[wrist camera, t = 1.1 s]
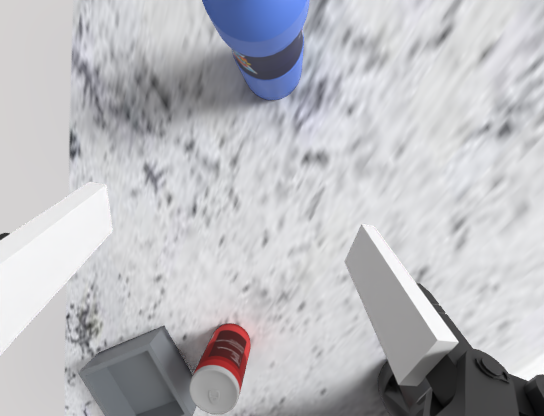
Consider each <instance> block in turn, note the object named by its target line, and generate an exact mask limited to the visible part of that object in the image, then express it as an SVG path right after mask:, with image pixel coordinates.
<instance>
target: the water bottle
mask: <svg viewBox="0 0 544 416" xmlns="http://www.w3.org/2000/svg"><path fill="white" fill-rule="evenodd" d="M202 2H203V4H204V6H205V9H206V11H207V13H208V15H209V17H210V19H211V20H212V22H213V24H214V26H215V28H216V30H217V31H218V33H219V34H220V36H221V38H222V39H223V40H224V41H225V43H226V44H227V45H228V46H229V47H231V48H232V52H233V56H234V58H235V61H236V63H237V65H238V67H239V69H240V71H241V73H242V75H243V76H244V78H245V80H246V82H247V84H248V86H249V87H250V89H251V90H252V91H253V92H254V93H255V94H256V95H257V96H259V97H261V98H263V99H266V100H278V99H282V98H284V97H286V96H287V95H289V94H290V93H291V92H292V91H293V90H294V89H295V88H296V86H297V84H298V82H299V80H300V77H301V71H302V60H303V46H304V34H303V29H302V28H303V25H304V23H305V20H306V17H307V12H308V7H309V0H202Z"/></svg>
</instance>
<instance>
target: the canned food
mask: <svg viewBox="0 0 544 416" xmlns="http://www.w3.org/2000/svg"><path fill="white" fill-rule="evenodd" d="M249 352H250V338H249V336H248V334H247V332H246V331H245V330H244V329H243V328H242V327H240V326H239V325H236V324H224V325H222V326H220V327H219V328H218V329H217V330H216V331H215V332H214V333H213V335H212V337H211V339H210V341H209V343H208V346H207V348H206V350H205V352H204V354H203V356H202V358H201V360H200V362H199V364H198V366H197V368H196V370H195V372H194V374H193V376H192V379H191V382H190V386H189V391H190V395H191V398H192V400H193V401H194V403H195V404H196V405H197V406H198V407H199V408H200V409H201V410H203V411H205V412H208V413H211V414H223V413H226V412H228V411H230V410H231V409H232V408H233V407H234V406H235V405H236V403H237V400H238V398H239V394H240V390H241V386H242V382H243V378H244V373H245V369H246V365H247V361H248V356H249Z"/></svg>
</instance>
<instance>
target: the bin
mask: <svg viewBox="0 0 544 416" xmlns="http://www.w3.org/2000/svg"><path fill="white" fill-rule="evenodd" d="M78 373H79V375H80V377H81V378H82V380H83V381H84V383H85V385H86V386H87V388H88V389H89V391H90V392H91V394H92V396H93V397H94V399H95V400H96V402H97V404H98V405H99V407H100V408H101V410H102V412H103V413H104V415H105V416H193V413H194V411H195V408H196V406H197V405H196V404H195V403H194V401H193V400H192V398H191V395H190V391H189V386H190V382H191V379H192V376H193V375H192V374H191V372H190V370H189V368H188V367H187V365H186V363H185V361H184V360H183V358H182V356H181V354H180V353H179V351H178V349H177V347H176V346H175V344H174V342H173V340H172V338H171V337H170V335H169V333H168V331H167V330H166V328H165V326H162V327H160V328H157V329H155V330H153V331H150V332H148V333H145V334H143V335H141V336H138V337H136V338H133V339H131V340H128V341H126V342H124V343H121V344H119V345H116V346H114V347H112V348H109V349H107V350H104V351H102V352H99V353H98V354H97V355H96V356H95V357H94V358H93V359H92V360H91V361H90V362H89V363H88V364H87V365H86V366H85V367H84V368H82V369H81V370H80V371H79V372H78Z"/></svg>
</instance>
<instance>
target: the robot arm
mask: <svg viewBox="0 0 544 416" xmlns="http://www.w3.org/2000/svg"><path fill="white" fill-rule="evenodd" d="M112 231H113V229H112V221H111V214H110V206H109V199H108V192H107V184H101V183H95V182H88V183H86V184H85V185H83V186H82V187H80V188H79V189H77V190H76V191H74V192H73V193H71V194H70V195H68V196H67V197H65V198H64V199H62V200H61V201H59V202H58V203H56V204H55V205H53V206H52V207H50V208H49V209H47V210H46V211H44V212H43V213H41V214H40V215H38V216H37V217H35V218H34V219H32V220H31V221H29V222H27V223H26V224H24V225H23V226H22V227H20V228H18V229H17V230H15V231H14V232H12V233H11V234H10V233H3V234H1V235H0V355H1V354H2V353H3V352H4V351H5V350H6V348H7V347H8V346H9V345H10V344H11V343H12V342H13V341H14V340H15V339H16V337H17V336H18V335H19V334H20V333H21V332H22V331H23V330H24V329H25V327H26V326H27V325H28V324H29V323H30V322H31V321H32V320H33V319H34V318H35V316H36V315H37V314H38V313H39V312H40V311H41V310H42V309H43V308H44V306H45V305H46V304H47V303H48V302H49V301H50V300H51V299H52V298H53V297H54V295H55V294H56V293H57V292H58V291H59V290H60V289H61V288H62V287H63V286H64V284H65V283H66V282H67V281H68V280H69V279H70V278H71V277H72V276H73V275H74V273H75V272H76V271H77V270H78V269H79V268H80V267H81V266H82V265H83V263H84V262H85V261H86V260H87V259H88V258H89V257H90V256H91V255H92V254H93V252H94V251H95V250H96V249H97V248H98V247H99V246H100V245H101V244H102V243H103V241H104V240H105V239H106V238H107V237H108V236H109V235H110V234H111V233H112ZM345 264H346V266H347V269H348V271H349V273H350V275H351V278H352V280H353V282H354V284H355V287H356V289H357V291H358V294H359V296H360V298H361V300H362V303H363V305H364V307H365V310H366V312H367V314H368V316H369V319H370V321H371V323H372V326H373V328H374V330H375V332H376V335H377V337H378V339H379V342H380V344H381V346H382V348H383V351H384V353H385V355H386V358H387V360H388V361H387V362H386V364H385V365H384V366H383V368H382V370H381V372H380V375H379V380H378V388H379V392H380V395H381V398H382V400H383V403H384V405H385V407H386V409H387V411H388V412H389V414H390V415H391V416H544V375H543V374H542V375H536V376H535V377H534V378H532V379H531V380H530V381H526V380H524V379H521V378H519V377H516V376H513V375H511V374H508V372H507V371H506V370H505V368H504V367H503V366H502V365H501V364H500V363H499V362H498V361H496V360H495V359H494V358H492V357H491V356H490V355H488V354H486V353H484V352H482V351H480V350H477V349H473V348H472V347H471V345H470V344H469V343H468V342H467V340H466V339H465V338H464V336H463V335H462V334H461V332H460V331H459V330H458V328H457V327H456V326H455V324H454V323H453V322H452V321H451V319H450V318H449V317H448V315H447V314H445V311H444V310H443V309H442V307H441V306H439V305H438V304H439V303H438V302H437V301H436V299H435V298H434V297H433V296H432V294H431V293H430V292H429V291H428V290H426V289H425V288H424V287H423V286H422V285H421V284H418V283H415V281H414V280H413V278H412V277H411V276H410V274H409V273H408V272H407V270H406V269H405V267H404V266H403V265H402V263H401V262H400V261H399V259H398V258H397V256H396V255H395V254H394V252H393V251H392V250H391V248H390V247H389V245H388V244H387V243H386V241H385V240H384V239H383V237H382V236H381V234H380V233H379V232H378V230H377V229H376V228H375V226H370V225H364V224H362V225H361V227H360V229H359V231H358V233H357V235H356V238H355V240H354V242H353V244H352V246H351V249H350V251H349V253H348V255H347V257H346V260H345Z"/></svg>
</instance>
